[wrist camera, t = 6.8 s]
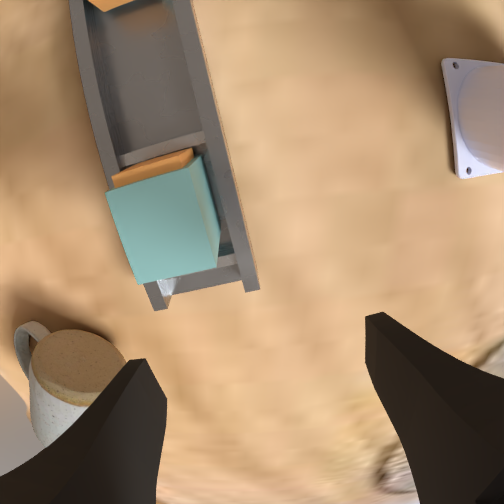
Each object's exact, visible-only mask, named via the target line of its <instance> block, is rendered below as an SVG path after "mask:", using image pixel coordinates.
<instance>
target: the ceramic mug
mask: <svg viewBox="0 0 504 504" xmlns="http://www.w3.org/2000/svg"><path fill="white" fill-rule="evenodd" d="M29 334H30V335H31V336H32V337H33V338H34V339H35V340H36V341H37V342H38V343H37V345H36V347H35V349H34V351H33V353H32V354H31V352H30V348H29ZM14 346H15V351H16V355H17V358H18V361H19V363H20V366H21V368H22V370H23V372H24V373H25V375H26V377H27V378H28V380H29V387H30V415H31V422H32V427H33V430H34V432H35V434H36V436H37V438H38V440H39V441H40V442H41V444H42V445H43V446H44V447H45V448H46V447H47V446H49V445H50V444H51V443H52V442H54V441H55V440H56V439H57V438H58V437H59V436H60V435H62V434H63V433H64V432H65V431H66V430H67V429H68V428H69V427H70V426H71V425H72V424H73V423H74V422H75V421H76V420H77V419H78V418H79V417H80V416H81V415H82V414H83V412H84V411H85V410H86V409H87V408H88V407H89V406H90V405H91V404H92V403H93V402H94V400H95V399H96V398H97V397H98V396H99V395H100V393H101V392H102V391H103V390H104V389H105V388H106V386H107V385H108V384H109V383H110V382H111V380H112V379H113V378H114V377H115V376H116V374H117V373H118V372H119V371H120V370H121V369H122V368H123V366H124V365H125V364H126V361H125V359H124V357H123V356H122V354H121V353H120V352H119V351H118V349H117V348H115V347H114V346H113V345H112V344H111V343H110V342H108V341H107V340H105V339H103V338H102V337H100V336H98V335H96V334H93V333H90V332H87V331H83V330H75V329H67V330H59V331H55V332H53V333H51V332H50V331H49V330H48V329H47V328H46V327H45V326H43V325H41V324H40V323H38V322H36V321H30V322H27V323H25V324H23V325H21V326H19V327H18V328H17V329H16V331H15V334H14Z"/></svg>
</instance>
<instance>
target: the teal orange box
mask: <svg viewBox="0 0 504 504" xmlns="http://www.w3.org/2000/svg"><path fill="white" fill-rule="evenodd" d="M88 1H89V2H91V3H92V4H94V5H95V6H96V7H98V8H99V9H100V10H102V11H103V12H106V11H108V10H110V9H113V8H115V7H118V6H120V5H123V4H125V3H128V2H131V1H134V0H88Z"/></svg>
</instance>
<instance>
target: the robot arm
mask: <svg viewBox="0 0 504 504" xmlns="http://www.w3.org/2000/svg"><path fill="white" fill-rule="evenodd" d="M453 63H454V64H455V68H454V67H453ZM441 66H442V71H443V76H444V81H445V87H446V93H447V99H448V105H449V112H450V120H451V128H452V137H453V147H454V160H455V173H456V175H457V177H458V178H461V179H466V178H472V177H478V176H483V175H489V174H495V173H501V172H504V64H503V63H496V62H488V61H480V60H470V59H458V58H445V59H443V60H442V62H441ZM467 168H468V172H467V173H466V169H467ZM365 329H366V344H365V363H366V366H367V369H368V372H369V375H370V377H371V380H372V383H373V386H374V388H375V390H376V392H377V394H378V396H379V398H380V400H381V402H382V404H383V406H384V408H385V410H386V412H387V414H388V416H389V418H390V420H391V422H392V424H393V426H394V428H395V430H396V432H397V434H398V436H399V438H400V441H401V443H402V445H403V448H404V451H405V454H406V457H407V460H408V463H409V466H410V469H411V472H412V475H413V479H414V482H415V486H416V489H417V493H418V497H419V501H420V504H504V378H501V377H498V376H495V375H492V374H489V373H487V372H484V371H482V370H480V369H477V368H475V367H473V366H471V365H469V364H466V363H464V362H462V361H460V360H458V359H456V358H455V357H453V356H451V355H449V354H447V353H446V352H444V351H442V350H440V349H439V348H437V347H435V346H434V345H432V344H430V343H429V342H427V341H426V340H424V339H423V338H421V337H419V336H418V335H416V334H415V333H413V332H412V331H410V330H409V329H408V328H406V327H405V326H403V325H402V324H400V323H399V322H397V321H396V320H394V319H393V318H392V317H390V316H389V315H387V314H386V313H384V312H380V313H376V314H372V315H369V316H365ZM166 418H167V398H166V396H165V394H164V392H163V391H162V389H161V387H160V385H159V383H158V382H157V380H156V378H155V376H154V374H153V372H152V370H151V368H150V366H149V364H148V363H147V361H146V359H145V358H144V359H135V360H129V361H128V362H127V363H126V364H125V365H124V366H123V368H122V369H121V370H120V371H119V372H118V373H117V374H116V376H115V377H114V378H113V379H112V380H111V382H110V383H109V384H108V385H107V386H106V388H105V389H104V390H103V391H102V392H101V393H100V395H99V396H98V397H97V398H96V399H95V400H94V402H93V403H92V404H91V405H90V406H89V407H88V408H87V409H86V410H85V411H84V412H83V414H82V415H81V416H80V417H79V418H78V419H77V420H76V421H75V422H74V423H73V424H72V425H71V426H70V427H69V428H68V429H67V430H66V431H65V432H64V433H63V434H62V435H60V436H59V437H58V438H57V439H56V440H55V441H54V442H52V443H51V444H50V445H49V446H47V447H46V448H45V449H43V450H42V451H41V452H39V453H38V454H37V455H36V456H34V457H33V458H31V459H30V460H29V461H27V462H25V463H24V464H22V465H20V466H19V467H17V468H15V469H14V470H12V471H10V472H8V473H7V474H4V475H2V476H0V504H156V484H157V476H158V470H159V464H160V458H161V452H162V446H163V441H164V435H165V429H166Z"/></svg>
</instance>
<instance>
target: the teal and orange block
mask: <svg viewBox="0 0 504 504" xmlns="http://www.w3.org/2000/svg"><path fill="white" fill-rule="evenodd" d="M111 177H112V180H113V183H114V187H113V188H112V189H110V190H109V191H107V192H105V195H106V198H107V201H108V204H109V207H110V210H111V213H112V216H113V219H114V222H115V225H116V228H117V231H118V234H119V236H120V239H121V242H122V245H123V247H124V250H125V253H126V255H127V258H128V261H129V263H130V266H131V268H132V271H133V274H134V276H135V279H136V281H137V284H138V285H139V284H144V283H149V282H153V281H158V280H162V279H167V278H171V277H176V276H180V275H185V274H189V273H194V272H198V271H203V270H207V269H212V268H216V267H217V259H218V250H219V241H220V232H221V225H220V221H219V217H218V214H217V210H216V206H215V202H214V198H213V195H212V191H211V187H210V183H209V179H208V176H207V172H206V168H205V164H204V160H203V156H202V154H200V155H197V156H194V154H193V150H192V148H188V149H184V150H181V151H177V152H174V153H170V154H167V155H163V156H160V157H157V158H153V159H150V160H147V161H144V162H140V163H138V164H135V165H133V166H131V167H129V168H127V169H125V170H123V171H121V172H119V173H117V174H115V175H113V176H111Z"/></svg>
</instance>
